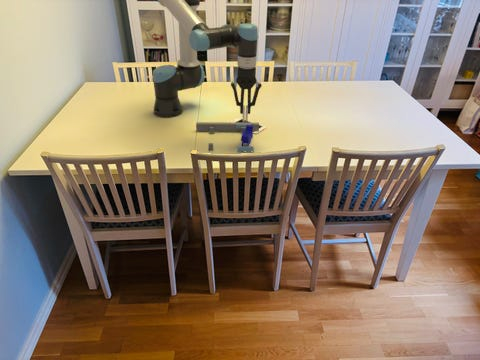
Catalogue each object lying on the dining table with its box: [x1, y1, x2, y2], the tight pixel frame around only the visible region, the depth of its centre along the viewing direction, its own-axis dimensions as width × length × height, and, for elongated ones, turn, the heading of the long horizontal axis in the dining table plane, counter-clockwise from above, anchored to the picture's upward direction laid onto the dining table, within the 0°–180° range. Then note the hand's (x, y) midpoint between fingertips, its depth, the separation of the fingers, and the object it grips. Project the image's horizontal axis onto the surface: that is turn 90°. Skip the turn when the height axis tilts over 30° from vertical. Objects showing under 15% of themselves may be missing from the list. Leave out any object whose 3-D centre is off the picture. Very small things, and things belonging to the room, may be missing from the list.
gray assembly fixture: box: [195, 121, 260, 153], centre depth 153 cm, size 30×22×4 cm
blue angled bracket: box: [240, 125, 254, 146], centre depth 152 cm, size 12×4×6 cm, turn 168°
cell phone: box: [229, 117, 267, 135], centre depth 168 cm, size 9×18×1 cm, turn 51°
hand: (244, 120), depth 148 cm, fingers closed
